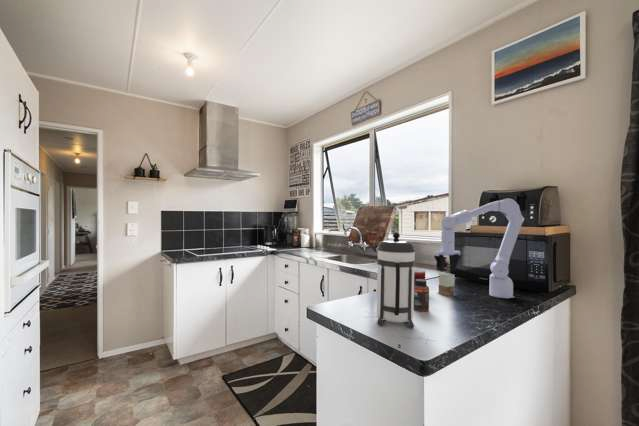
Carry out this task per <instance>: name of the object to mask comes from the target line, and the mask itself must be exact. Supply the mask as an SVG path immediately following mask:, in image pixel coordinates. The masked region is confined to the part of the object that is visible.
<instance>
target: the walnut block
mask: <svg viewBox="0 0 639 426" xmlns="http://www.w3.org/2000/svg"><path fill="white" fill-rule="evenodd" d="M438 293H439V294H438V295H440V294H442V295H441V296H443V295H445V296H444V297H446V296H447V297H450V296H449V295H455V285H454V286H451V287H446V286H442V285H439V284H438Z"/></svg>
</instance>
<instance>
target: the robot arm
mask: <svg viewBox="0 0 639 426" xmlns="http://www.w3.org/2000/svg"><path fill="white" fill-rule="evenodd" d="M488 212H500V213H501V214H503V215H504V216H505V217H506V219H507V221H508V223H507V226H506V230H505V232H504V234H503V238H502V241H501V244H500V246H499V249H498V252H497V254H496V256H495V258H494V260H493V261H492V262H491V263H490V266H489V268H490V272H491V274H489V285H488V287H489V289H488V292H489V293H488V295H489V296H492V297H495V298H500V299H501V298H502V299H510V298H511V299H512V298H514V282H513V280H512V279H511V278H510V277H509V276H508V275H509V272H510V271H509V264H510V260H511V259H510V258H511V255H512V253H513V250H514V248H515V244H516V241H517V239H518V236H519V233H520V231H521V228H522V225H523V222H524V217H523V215H522V212H521V209H520V205H519V204H518V202H517V201H515V200H514V199H513V198H508V197H507V198H503V199H500V200H496V201H492V202H489V203H486V204H484V205H481V206H478V207H477V208H474V209H472V210H467V209H464V210H463V209H460V210H459V212H456V213H453V214H452V213H451V214H449V216H445V217H444V218H443V219H442V220H441V226H442V227H441V239H440V240H441V242H440V243H441V246H440V247H441V248H440V250H437V251H435V250H434V256H433V257H434V259H435V261H436V263H437V268H438V270H439V272H444V270H445V264H446V259H447V257H446V256H448V258H449V262H450V263H449V264H450V270H451V271H456V270H457V266H458V263H459V261H460V260H461V258H462V255H461V251H460V250H455V226H461V225H464V224H466V223H470V222H471V221H472V220H473V218H474V217H477V216H480V215H483V214H486V213H488Z"/></svg>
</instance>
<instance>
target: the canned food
mask: <svg viewBox="0 0 639 426" xmlns="http://www.w3.org/2000/svg"><path fill="white" fill-rule="evenodd" d="M416 279H424V280H426V270H425V269H421V268H414V285H415V284H416V283H415V280H416Z"/></svg>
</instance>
